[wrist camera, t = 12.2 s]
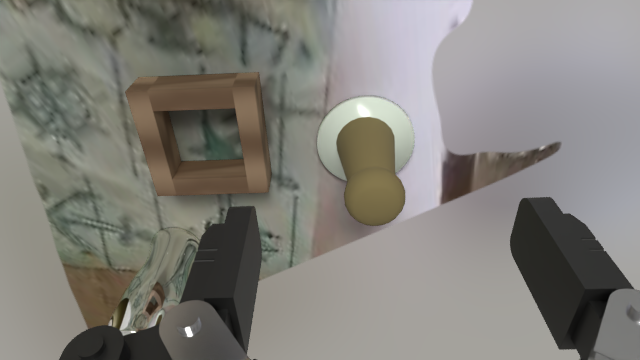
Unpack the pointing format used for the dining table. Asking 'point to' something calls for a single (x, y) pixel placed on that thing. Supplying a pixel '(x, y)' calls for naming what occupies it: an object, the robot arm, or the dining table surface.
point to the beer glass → (157, 282)
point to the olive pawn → (370, 171)
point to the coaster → (358, 109)
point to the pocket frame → (196, 94)
